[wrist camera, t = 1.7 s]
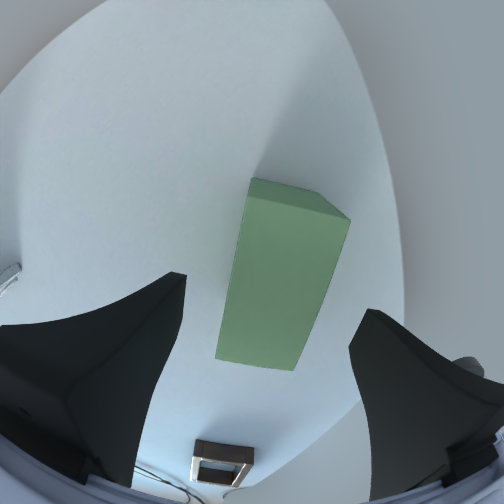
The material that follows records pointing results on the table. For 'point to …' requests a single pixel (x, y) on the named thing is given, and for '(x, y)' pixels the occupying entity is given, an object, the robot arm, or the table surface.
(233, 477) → the mounting base
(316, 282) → the block
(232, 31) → the table surface
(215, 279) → the table surface
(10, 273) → the cassette
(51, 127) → the table surface
